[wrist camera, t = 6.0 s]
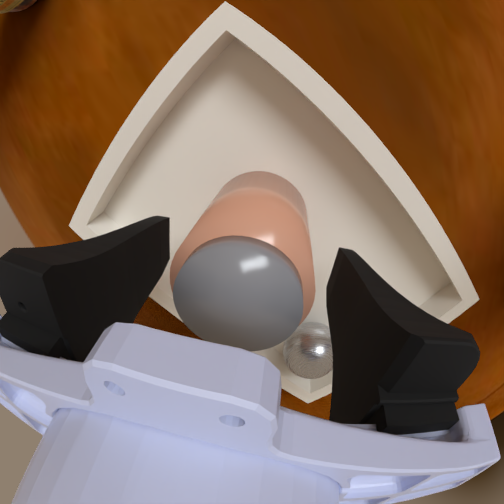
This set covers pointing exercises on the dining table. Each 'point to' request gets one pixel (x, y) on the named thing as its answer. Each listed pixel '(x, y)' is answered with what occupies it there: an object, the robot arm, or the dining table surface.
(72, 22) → the dining table surface
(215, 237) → the shaker
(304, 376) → the mixing ball
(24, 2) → the sauce bottle
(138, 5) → the dining table surface
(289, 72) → the dish
